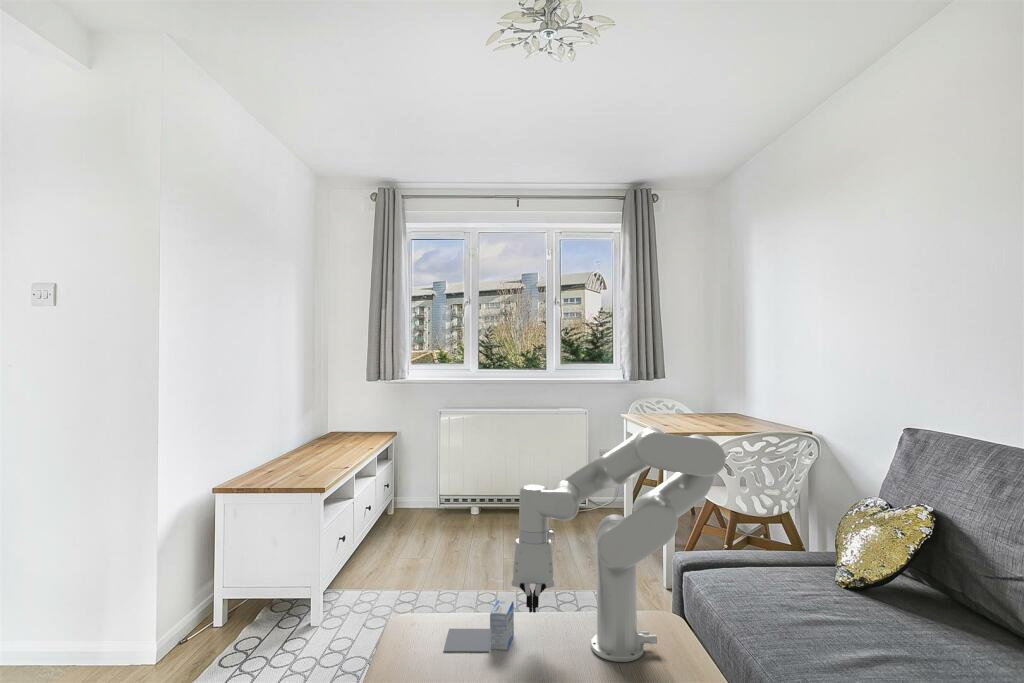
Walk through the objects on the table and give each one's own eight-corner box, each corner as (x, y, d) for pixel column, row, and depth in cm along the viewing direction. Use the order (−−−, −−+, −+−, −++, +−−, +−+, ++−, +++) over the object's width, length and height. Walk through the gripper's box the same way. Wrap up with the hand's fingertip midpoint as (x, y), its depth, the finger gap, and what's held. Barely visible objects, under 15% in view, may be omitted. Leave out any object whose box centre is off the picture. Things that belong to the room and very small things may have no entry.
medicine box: (507, 651, 128) (507, 614, 129) (489, 649, 129) (489, 612, 130) (514, 635, 136) (514, 600, 136) (497, 633, 137) (497, 599, 137)
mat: (491, 629, 138) (491, 628, 139) (489, 652, 128) (489, 651, 128) (449, 629, 139) (449, 628, 139) (443, 652, 128) (443, 650, 128)
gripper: (562, 531, 137) (560, 604, 137) (504, 530, 138) (502, 602, 137) (564, 541, 130) (563, 618, 129) (503, 539, 130) (502, 616, 129)
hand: (532, 610), depth 133 cm, fingers closed
